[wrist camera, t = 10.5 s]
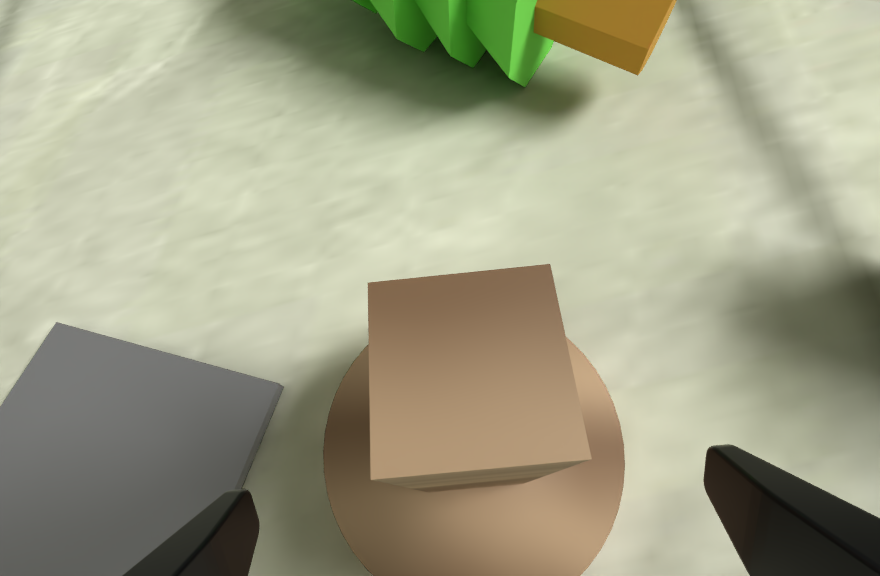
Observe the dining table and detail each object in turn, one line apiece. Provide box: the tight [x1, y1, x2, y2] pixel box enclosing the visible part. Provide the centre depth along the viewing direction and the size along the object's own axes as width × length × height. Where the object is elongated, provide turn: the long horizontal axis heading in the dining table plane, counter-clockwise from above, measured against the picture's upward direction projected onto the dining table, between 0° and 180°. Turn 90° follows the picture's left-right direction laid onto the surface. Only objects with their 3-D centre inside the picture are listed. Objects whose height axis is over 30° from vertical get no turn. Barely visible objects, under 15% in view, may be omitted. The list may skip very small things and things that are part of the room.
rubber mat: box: [0, 322, 284, 576], centre depth 20 cm, size 13×13×1 cm
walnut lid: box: [323, 264, 625, 576], centre depth 13 cm, size 11×11×11 cm
